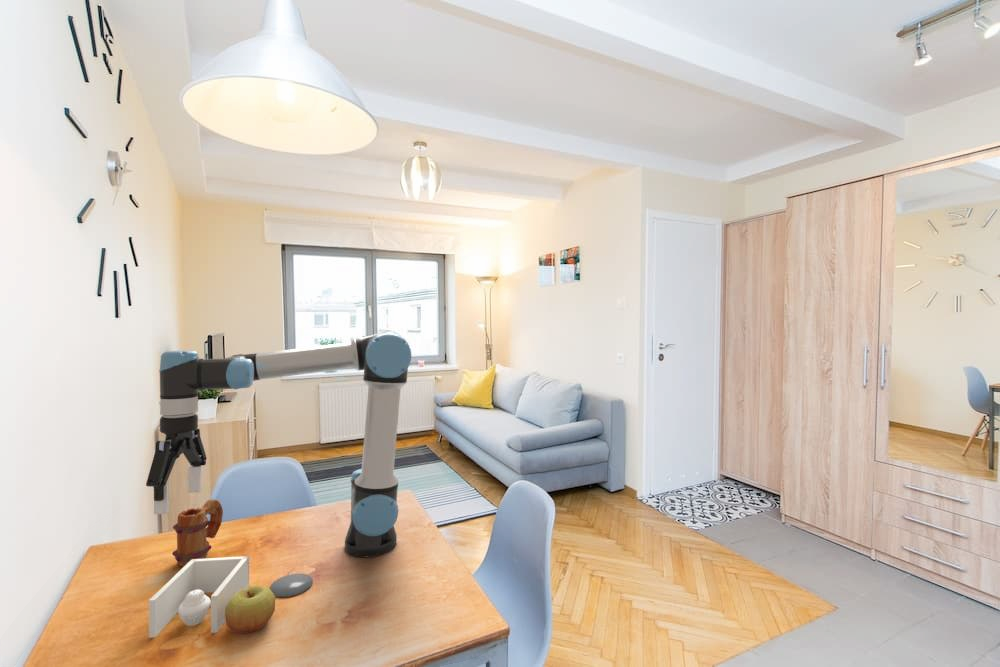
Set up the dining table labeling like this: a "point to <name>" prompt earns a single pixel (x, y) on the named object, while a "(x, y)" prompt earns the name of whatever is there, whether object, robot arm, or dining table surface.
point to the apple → (250, 609)
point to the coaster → (291, 585)
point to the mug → (196, 531)
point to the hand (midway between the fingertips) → (179, 502)
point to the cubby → (203, 575)
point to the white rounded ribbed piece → (194, 607)
